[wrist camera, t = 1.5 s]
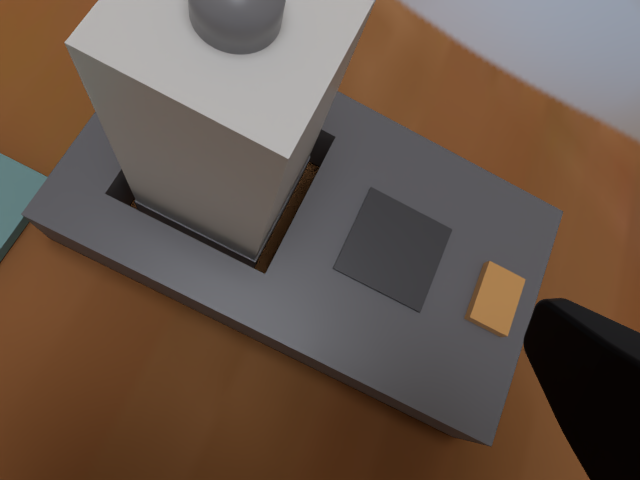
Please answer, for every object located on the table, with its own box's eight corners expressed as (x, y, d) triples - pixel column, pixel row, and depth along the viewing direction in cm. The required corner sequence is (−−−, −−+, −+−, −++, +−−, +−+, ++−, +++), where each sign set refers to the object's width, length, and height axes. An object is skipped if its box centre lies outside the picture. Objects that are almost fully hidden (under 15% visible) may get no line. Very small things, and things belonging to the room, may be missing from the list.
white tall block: (252, 270, 21) (297, 139, 9) (140, 214, 20) (44, 7, 9) (304, 171, 22) (396, -44, 11) (201, 118, 22) (186, -161, 11)
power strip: (453, 437, 20) (498, 448, 17) (49, 238, 19) (15, 209, 16) (521, 231, 24) (570, 207, 20) (179, 50, 22) (173, -5, 19)
